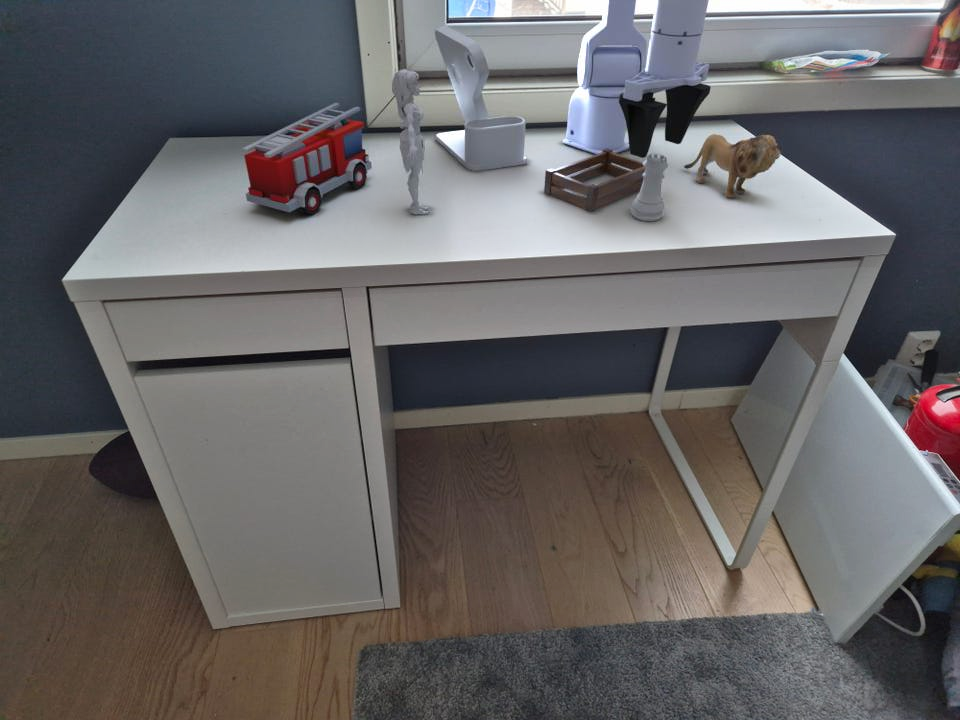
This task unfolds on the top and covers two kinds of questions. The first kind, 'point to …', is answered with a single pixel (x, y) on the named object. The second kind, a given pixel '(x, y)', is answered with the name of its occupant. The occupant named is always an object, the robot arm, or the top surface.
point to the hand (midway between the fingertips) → (655, 148)
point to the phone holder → (477, 110)
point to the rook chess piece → (650, 190)
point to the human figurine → (410, 131)
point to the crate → (602, 192)
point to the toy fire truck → (307, 161)
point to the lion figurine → (737, 159)
